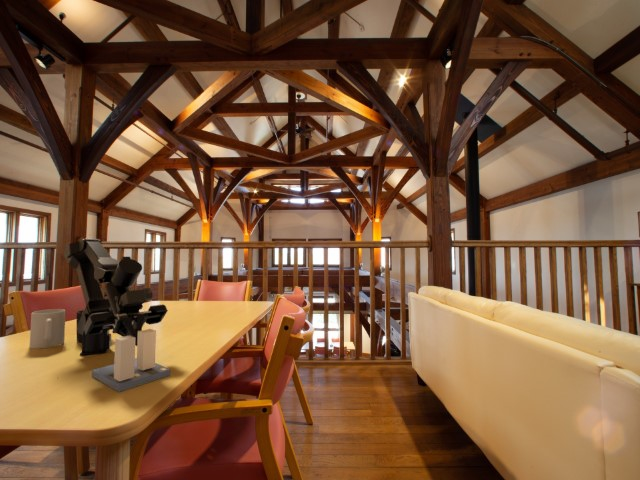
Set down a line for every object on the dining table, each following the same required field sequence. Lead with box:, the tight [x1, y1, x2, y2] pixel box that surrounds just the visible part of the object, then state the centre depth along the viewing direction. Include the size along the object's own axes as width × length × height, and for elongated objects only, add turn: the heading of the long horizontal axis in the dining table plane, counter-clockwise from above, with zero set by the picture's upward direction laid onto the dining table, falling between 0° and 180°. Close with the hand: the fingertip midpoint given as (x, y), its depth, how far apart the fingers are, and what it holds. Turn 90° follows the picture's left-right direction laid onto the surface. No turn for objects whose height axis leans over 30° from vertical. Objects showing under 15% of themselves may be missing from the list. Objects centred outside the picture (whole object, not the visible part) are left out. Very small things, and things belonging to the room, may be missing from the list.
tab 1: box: [113, 336, 136, 381], centre depth 70 cm, size 3×3×9 cm
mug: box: [29, 308, 66, 350], centre depth 98 cm, size 12×8×11 cm
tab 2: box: [136, 328, 157, 371], centre depth 76 cm, size 3×3×9 cm
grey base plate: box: [91, 357, 171, 393], centre depth 75 cm, size 15×12×2 cm
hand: (138, 344), depth 78 cm, fingers closed
